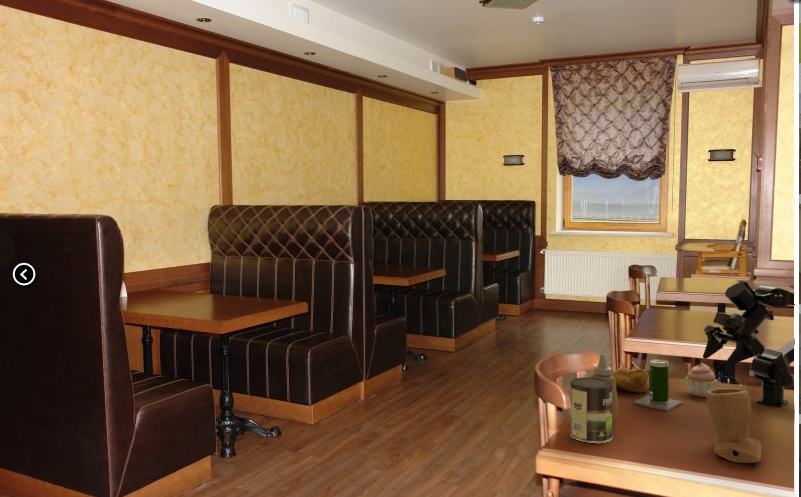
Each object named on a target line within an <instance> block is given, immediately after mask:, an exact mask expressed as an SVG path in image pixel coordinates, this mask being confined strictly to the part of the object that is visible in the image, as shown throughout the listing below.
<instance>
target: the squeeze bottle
mask: <svg viewBox="0 0 801 497" xmlns="http://www.w3.org/2000/svg"><path fill="white" fill-rule="evenodd" d="M597 364H598V365H595V366H594V367H593V374H592V375H590V377H589V378H600V379H604V380H608V381H610V382H612V384H613V387H612V422H613V421H614V420H615V418H616V415H617V413H618V409H619V405H618V395H617V394H618V393H617V389H616V381H615V377H614V376H613V375H612V374H613V372H612V370H613V369H612V367H610V366H608V362H607V358H606V354H605V353H604V354H603V353H602V354H601V353H600V356H599V360H598V363H597Z"/></svg>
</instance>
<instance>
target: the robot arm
mask: <svg viewBox="0 0 801 497" xmlns="http://www.w3.org/2000/svg"><path fill="white" fill-rule="evenodd" d="M794 293H795V291H794V292H792V291H789V290H788V289H784V288H781V287H777V286H776V287H775V286H768V285H758V286H757V288H755V289H753V288H752V287H751V286H750V285H749V283H748V282H747V281H746V280H740V281H739V282H738V283H735V284H733V285H731V286H729V287H727V288H726V290H725V293H724V295H725V297H726V298H727V299H728V300H729V302H731V304H732V305H733V307H735V308H736V310H739V311H742V312H741V313H740V314H738V313H732V314H728V313H724V312H720V311H716V313H715V316H714V318H713V321H712V322H713V324H718V325H720V326H722V328H720V326H716V325H713V324H707V325H706V327H704V329H703V332H704V333H705V336H706V338H707V342H706V346H705V348H704V352H703V354H702V358H703V359H704V360H707V359H709V358H710V357H711V356H713V355H714V354H715V353H717V352H719V351H720V350H721V349H723V348H724V345H726V344H727V343H728V342H731V343H734V344H736V345H735V348H734V350H733V351H732V352H731V354H730V355H729V357H728V358H727V360H726V361H725V362H724V365H725V366H726V367H731V366H732V365H735V364H738V363H741V362H742V361H745V360H748V359H751V358H752V360H751V361H752V362H751V370H752V372H753V376H754V378H755V379H756V380H759V381H761V397H760V398H759V399H757V400H756V402H757V403H760V404H764V405H770V406H774V407H779V408H781V407H783V406H784V405H786V404H788V403H789V400H786V399H785V387H788V386H790V385H791V386H792V382H793V380H794V377H793V376H792V375H791V374H790V373H789V369H790V367H791V364H793V362H794V345H795V338H794V339H791V340H790V341H789V342H787V343H786V344H784V345H782V346H781V347H780V348H778V349H777V350H774V349H772V348H765V347H766V346H764V344H763V343H762V341H761V340H759V339H758V338H757V336H755V335H758V334H759V333H760V332H759V330H758V328H759V327H760V326H761V325H762V323H763V322H764V321H765V320H769V321H774V320H775V318H774V314H773V313H774V311H773V310H771V309H768V308H767V307H771V308H774V309H775V308H776V309H777V308H785V307H788V306H796V305H795V304H794ZM724 331H725V332H724Z"/></svg>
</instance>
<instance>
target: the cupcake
mask: <svg viewBox="0 0 801 497" xmlns="http://www.w3.org/2000/svg"><path fill="white" fill-rule="evenodd" d="M685 381H686V383H687V384H688V389H689V393H690V394H691V396H693V397H698V398H707V397H706V394H707V392H708V391H709V390H712V389H716V388H717V387H716V386H717V385H718V383H719V379H716V375H715V373H714V372H713V370H712V369H711V368H710V367H709V366H708V365H707V364H704V363H703V362H700V363H699V365H697V366H693V367H692V368H691V370H690V371H688V372H687V376H685Z"/></svg>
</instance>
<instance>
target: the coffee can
mask: <svg viewBox="0 0 801 497" xmlns="http://www.w3.org/2000/svg"><path fill="white" fill-rule="evenodd" d="M569 384H570V438H571V439H573V438H574V439H576V440H579V441H583V442H588V443H587V444H589V443H595V444H594V445H603V444H606V443H607V442H608V443H610V442H611V441H612V440H613V421H612V387H613V384H612V382H610V381H608V380H604V379H600V378H590V377H577V378H573V379H571V380H570V381H569ZM574 439H573V440H574ZM576 440H575V441H576ZM579 441H578V442H579ZM583 442H582V443H583ZM596 443H597V444H596ZM602 443H603V444H602ZM608 443H607V444H608Z"/></svg>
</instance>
